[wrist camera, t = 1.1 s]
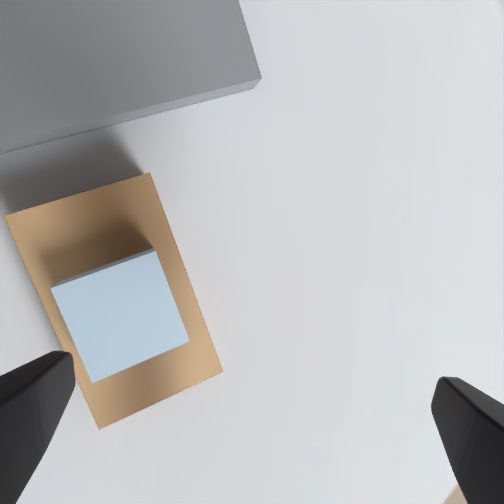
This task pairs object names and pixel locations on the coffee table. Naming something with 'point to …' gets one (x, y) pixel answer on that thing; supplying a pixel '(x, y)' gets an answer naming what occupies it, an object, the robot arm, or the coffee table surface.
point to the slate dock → (114, 62)
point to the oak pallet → (104, 252)
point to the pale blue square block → (120, 314)
